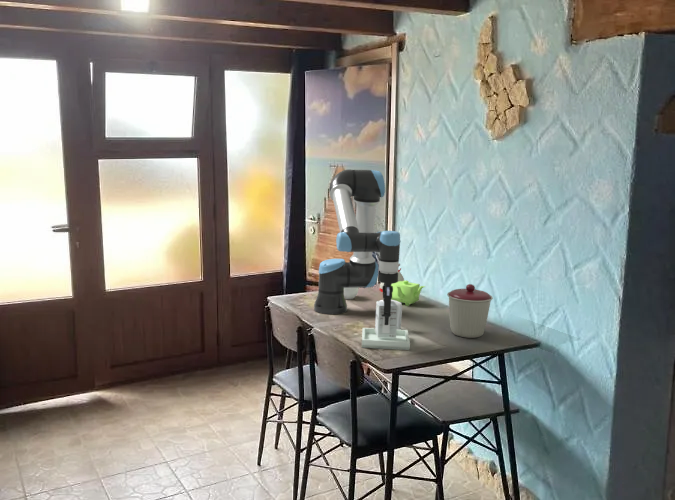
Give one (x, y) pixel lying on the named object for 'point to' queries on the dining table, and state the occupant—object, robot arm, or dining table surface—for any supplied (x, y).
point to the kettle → (406, 292)
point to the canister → (468, 311)
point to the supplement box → (380, 320)
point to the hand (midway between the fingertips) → (385, 329)
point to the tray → (385, 340)
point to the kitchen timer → (400, 278)
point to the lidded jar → (350, 293)
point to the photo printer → (398, 314)
